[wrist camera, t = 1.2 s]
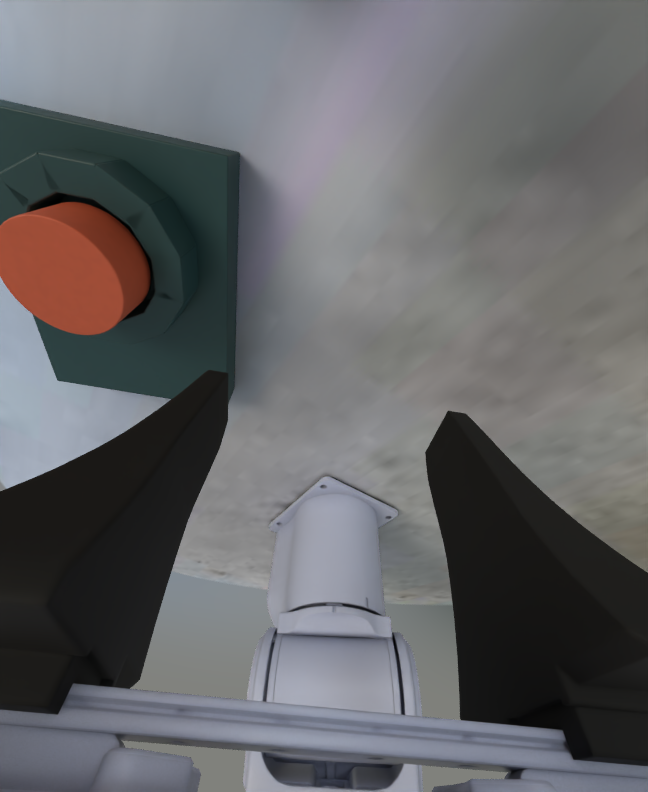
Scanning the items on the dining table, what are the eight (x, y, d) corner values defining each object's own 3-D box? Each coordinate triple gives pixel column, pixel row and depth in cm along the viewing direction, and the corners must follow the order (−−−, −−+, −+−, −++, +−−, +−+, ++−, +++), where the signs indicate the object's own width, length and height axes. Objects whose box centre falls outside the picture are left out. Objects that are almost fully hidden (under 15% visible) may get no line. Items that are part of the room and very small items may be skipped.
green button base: (234, 388, 23) (217, 430, 20) (77, 362, 22) (33, 402, 19) (240, 152, 15) (212, 159, 12) (-7, 98, 14) (-108, 90, 11)
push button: (156, 318, 16) (132, 344, 14) (57, 301, 16) (18, 325, 14) (143, 214, 13) (111, 229, 11) (21, 190, 13) (-32, 201, 11)
